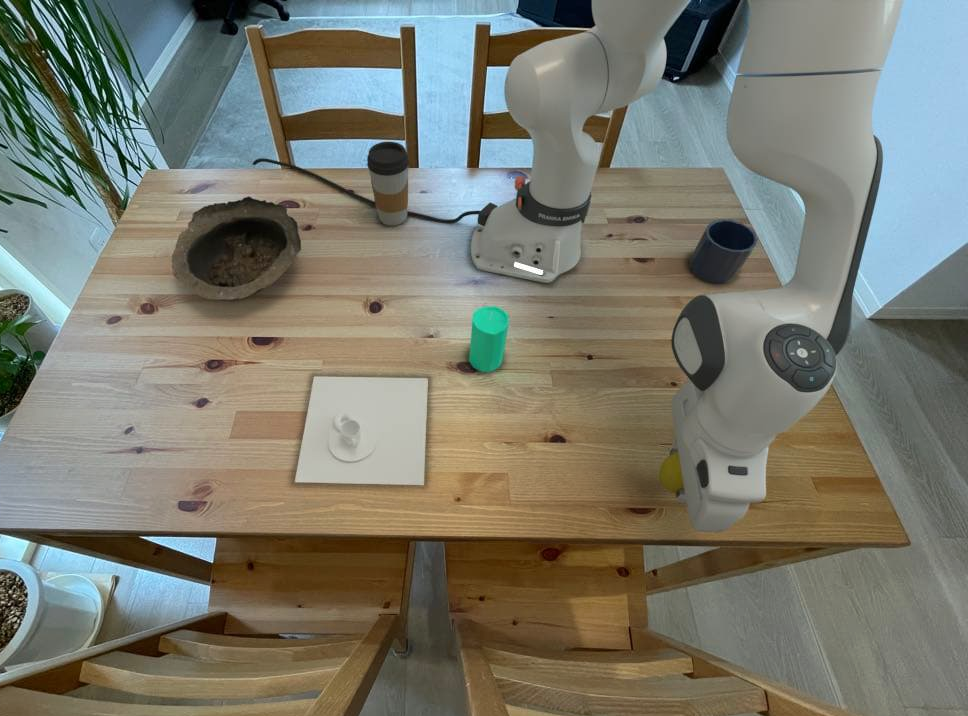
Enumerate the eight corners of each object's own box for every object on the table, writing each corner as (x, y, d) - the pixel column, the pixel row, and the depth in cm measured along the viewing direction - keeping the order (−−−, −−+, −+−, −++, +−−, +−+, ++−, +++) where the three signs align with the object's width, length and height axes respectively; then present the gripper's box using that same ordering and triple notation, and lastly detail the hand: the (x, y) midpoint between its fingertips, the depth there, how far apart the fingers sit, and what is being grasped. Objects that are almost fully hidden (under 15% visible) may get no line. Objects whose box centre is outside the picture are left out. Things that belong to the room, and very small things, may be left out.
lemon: (690, 504, 75) (715, 483, 69) (651, 497, 76) (672, 475, 69) (688, 470, 78) (712, 447, 71) (650, 464, 79) (671, 440, 72)
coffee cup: (378, 203, 115) (370, 138, 102) (414, 206, 114) (411, 141, 101) (370, 228, 110) (361, 163, 98) (408, 231, 110) (404, 166, 97)
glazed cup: (692, 282, 100) (711, 250, 93) (685, 250, 105) (702, 218, 98) (740, 285, 99) (762, 253, 93) (730, 253, 104) (751, 220, 97)
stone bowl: (294, 219, 112) (285, 183, 103) (320, 305, 101) (311, 272, 92) (178, 243, 108) (158, 208, 99) (191, 336, 96) (170, 304, 88)
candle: (464, 366, 90) (467, 321, 80) (474, 341, 93) (479, 294, 83) (497, 376, 89) (504, 331, 79) (506, 350, 92) (514, 303, 82)
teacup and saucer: (332, 414, 85) (328, 401, 82) (380, 415, 85) (377, 402, 82) (325, 462, 81) (320, 450, 77) (375, 463, 80) (372, 451, 77)
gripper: (684, 361, 68) (647, 413, 80) (711, 506, 58) (665, 542, 70) (733, 364, 68) (689, 416, 80) (769, 511, 57) (712, 546, 69)
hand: (678, 476), depth 75 cm, fingers closed on lemon, 5 cm apart
